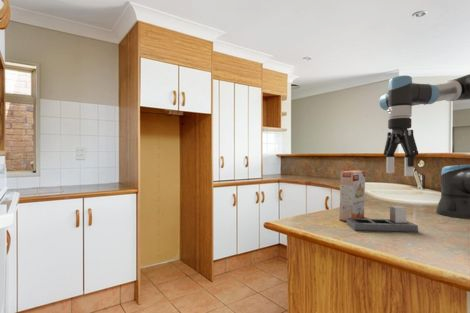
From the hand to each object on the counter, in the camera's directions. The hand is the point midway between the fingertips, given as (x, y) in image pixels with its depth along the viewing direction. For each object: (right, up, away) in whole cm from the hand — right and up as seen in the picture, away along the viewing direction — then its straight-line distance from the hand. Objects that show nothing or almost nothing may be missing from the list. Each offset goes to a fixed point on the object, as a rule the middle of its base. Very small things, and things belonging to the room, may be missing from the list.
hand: (399, 174), depth 102 cm
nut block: (0, -20, 0) cm, 20 cm away
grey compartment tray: (-7, -21, +1) cm, 22 cm away
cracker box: (-11, -21, +15) cm, 28 cm away
